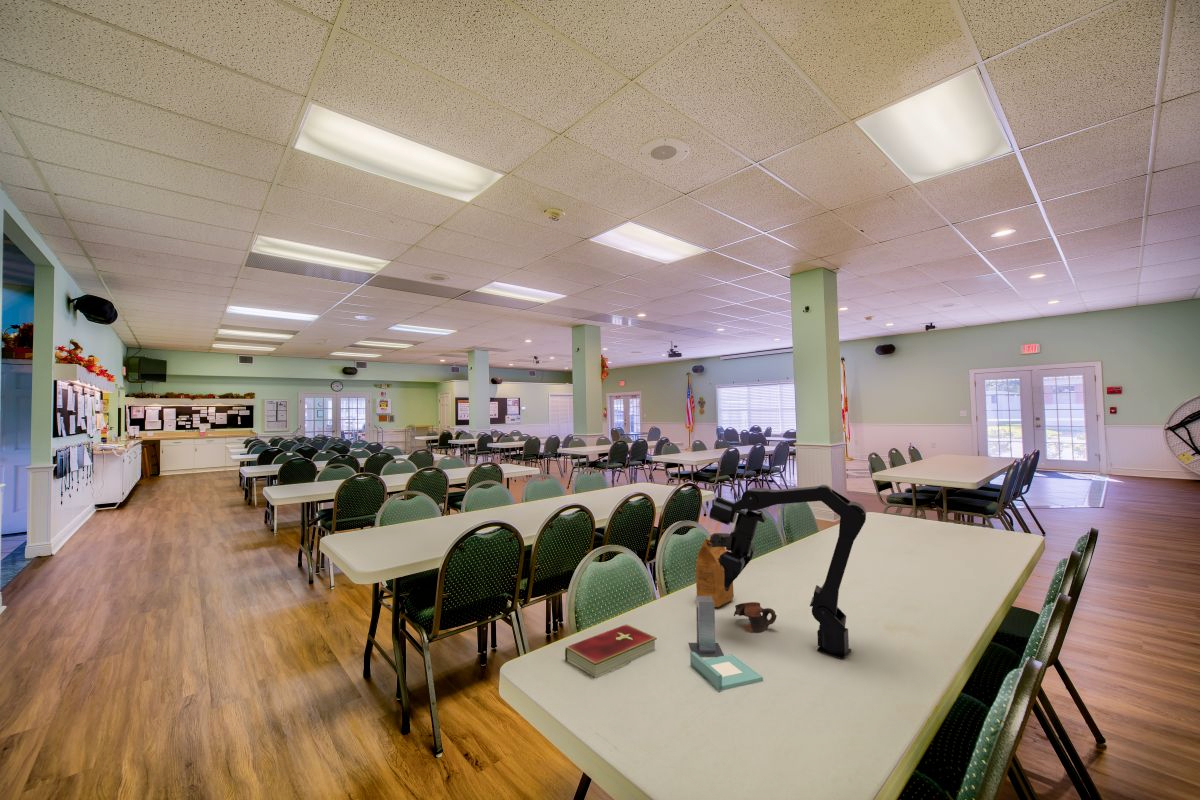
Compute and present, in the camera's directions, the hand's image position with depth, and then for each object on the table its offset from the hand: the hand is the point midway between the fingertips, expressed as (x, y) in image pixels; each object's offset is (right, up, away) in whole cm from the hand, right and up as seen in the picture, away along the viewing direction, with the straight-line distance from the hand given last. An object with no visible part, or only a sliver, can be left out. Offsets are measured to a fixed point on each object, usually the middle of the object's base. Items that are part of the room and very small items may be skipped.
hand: (730, 582), depth 141 cm
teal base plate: (-8, -13, -25) cm, 29 cm away
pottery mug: (+8, -14, +2) cm, 16 cm away
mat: (-10, -13, -13) cm, 21 cm away
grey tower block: (-10, -13, -13) cm, 20 cm away
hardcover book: (-34, -14, -15) cm, 40 cm away
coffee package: (+1, -15, +22) cm, 27 cm away
